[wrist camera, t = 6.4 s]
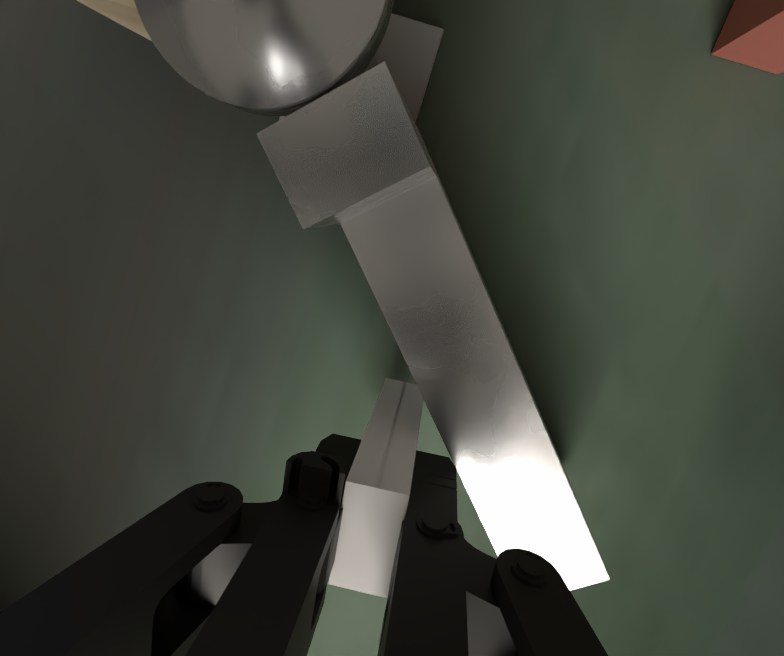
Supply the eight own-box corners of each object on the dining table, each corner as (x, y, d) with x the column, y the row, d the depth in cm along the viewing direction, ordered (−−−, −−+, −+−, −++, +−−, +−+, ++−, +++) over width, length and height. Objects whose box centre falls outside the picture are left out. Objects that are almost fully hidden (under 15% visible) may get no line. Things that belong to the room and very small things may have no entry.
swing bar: (264, 49, 15) (77, -105, 8) (387, -26, 14) (310, -285, 7) (480, 506, 18) (496, 717, 11) (593, 469, 17) (699, 674, 10)
